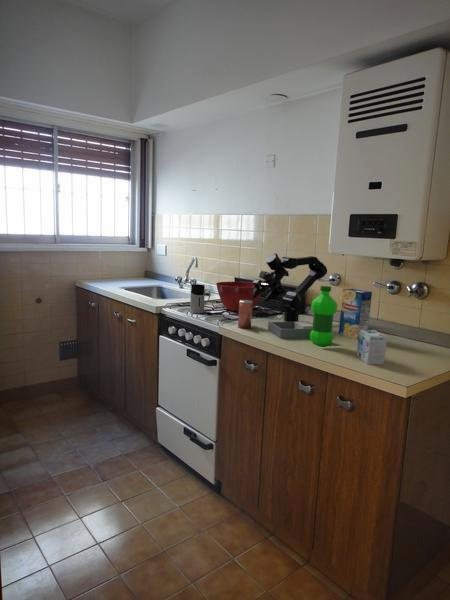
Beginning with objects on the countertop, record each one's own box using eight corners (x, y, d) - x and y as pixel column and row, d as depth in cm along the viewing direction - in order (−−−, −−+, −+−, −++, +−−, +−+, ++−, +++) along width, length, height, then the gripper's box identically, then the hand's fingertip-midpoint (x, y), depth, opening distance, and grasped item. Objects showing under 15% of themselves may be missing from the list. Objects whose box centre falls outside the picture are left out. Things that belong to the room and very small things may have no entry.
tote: (306, 331, 202) (307, 321, 201) (321, 339, 188) (322, 328, 187) (267, 332, 197) (268, 321, 196) (280, 340, 183) (280, 329, 182)
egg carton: (306, 331, 199) (306, 321, 198) (315, 336, 190) (316, 326, 189) (293, 331, 197) (294, 321, 196) (302, 336, 188) (303, 326, 188)
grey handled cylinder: (197, 309, 245) (198, 283, 243) (214, 313, 235) (215, 286, 233) (186, 310, 239) (186, 284, 236) (203, 315, 229) (204, 287, 227)
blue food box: (357, 341, 188) (362, 292, 185) (338, 335, 197) (342, 289, 194) (367, 339, 192) (372, 291, 189) (348, 334, 201) (352, 288, 198)
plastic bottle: (303, 342, 181) (308, 284, 177) (324, 341, 185) (329, 284, 181) (317, 349, 172) (322, 288, 168) (338, 347, 176) (344, 288, 172)
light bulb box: (355, 356, 165) (358, 329, 163) (372, 356, 165) (375, 329, 164) (367, 364, 154) (370, 335, 153) (384, 365, 155) (388, 336, 153)
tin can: (248, 325, 209) (250, 299, 207) (253, 328, 202) (254, 302, 200) (236, 326, 207) (237, 299, 205) (240, 329, 201) (241, 302, 199)
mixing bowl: (205, 307, 252) (206, 282, 249) (238, 303, 271) (240, 280, 269) (238, 316, 232) (239, 288, 229) (272, 311, 251) (274, 285, 248)
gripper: (256, 263, 215) (238, 285, 210) (282, 267, 201) (263, 291, 196) (266, 278, 221) (249, 300, 216) (292, 283, 207) (274, 306, 202)
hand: (258, 299), depth 207 cm, fingers open, 9 cm apart
